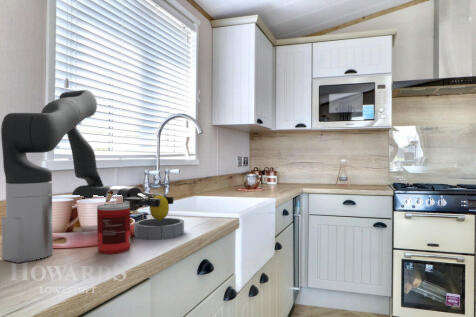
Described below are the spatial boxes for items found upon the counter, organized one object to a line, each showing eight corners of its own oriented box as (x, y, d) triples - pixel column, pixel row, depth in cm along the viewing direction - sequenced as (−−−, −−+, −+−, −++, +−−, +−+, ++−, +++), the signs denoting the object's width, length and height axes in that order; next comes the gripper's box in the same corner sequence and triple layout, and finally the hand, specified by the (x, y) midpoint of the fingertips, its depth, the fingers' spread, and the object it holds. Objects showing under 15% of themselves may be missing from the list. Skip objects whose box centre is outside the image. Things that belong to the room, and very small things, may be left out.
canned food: (117, 244, 92) (117, 202, 92) (137, 248, 88) (136, 204, 88) (90, 251, 86) (90, 206, 86) (110, 256, 82) (109, 208, 82)
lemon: (164, 223, 102) (164, 195, 101) (146, 222, 103) (146, 195, 103) (171, 219, 107) (171, 193, 107) (154, 219, 108) (154, 193, 108)
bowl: (162, 241, 95) (162, 228, 95) (124, 236, 102) (124, 224, 102) (193, 231, 107) (192, 219, 107) (157, 227, 114) (157, 216, 114)
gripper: (106, 188, 105) (149, 191, 97) (140, 184, 118) (181, 186, 110) (106, 213, 105) (149, 218, 97) (140, 206, 118) (181, 210, 110)
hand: (166, 201), depth 104 cm, fingers closed on lemon, 5 cm apart
